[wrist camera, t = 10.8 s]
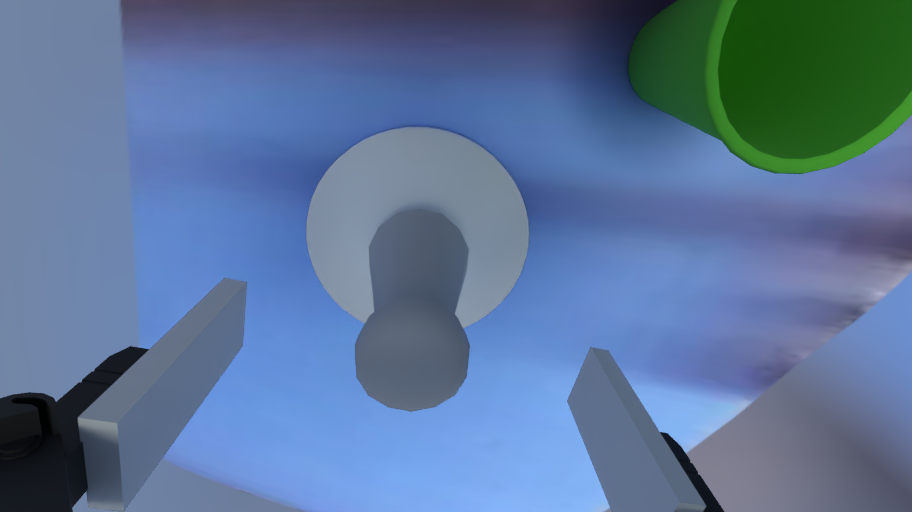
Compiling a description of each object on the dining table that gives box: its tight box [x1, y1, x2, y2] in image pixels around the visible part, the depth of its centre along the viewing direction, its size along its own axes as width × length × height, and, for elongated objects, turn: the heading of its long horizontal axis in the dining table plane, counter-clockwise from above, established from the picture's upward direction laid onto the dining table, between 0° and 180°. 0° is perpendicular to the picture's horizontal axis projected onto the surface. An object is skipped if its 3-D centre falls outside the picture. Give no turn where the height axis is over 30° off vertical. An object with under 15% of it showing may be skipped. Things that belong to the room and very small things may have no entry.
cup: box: [628, 0, 912, 174], centre depth 20 cm, size 9×9×11 cm
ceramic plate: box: [306, 126, 529, 328], centre depth 27 cm, size 14×14×1 cm
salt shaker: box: [355, 208, 470, 411], centre depth 21 cm, size 6×6×13 cm
